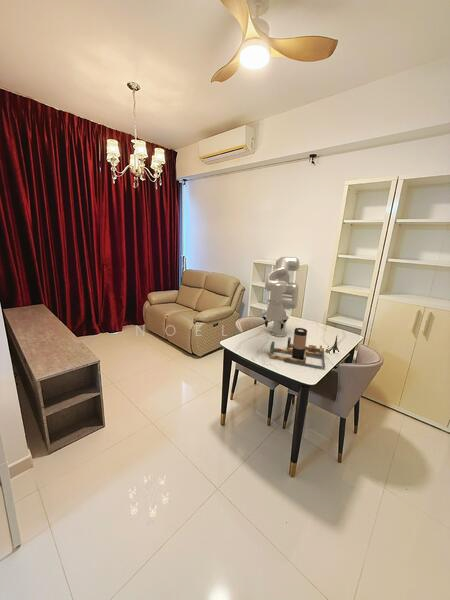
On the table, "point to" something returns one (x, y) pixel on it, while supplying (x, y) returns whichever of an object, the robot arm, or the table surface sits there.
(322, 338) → the table surface
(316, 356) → the lane frame
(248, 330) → the table surface
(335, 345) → the eiffel tower figurine
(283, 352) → the brown low piece
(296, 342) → the travel mug
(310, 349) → the walnut block
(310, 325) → the table surface
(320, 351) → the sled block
